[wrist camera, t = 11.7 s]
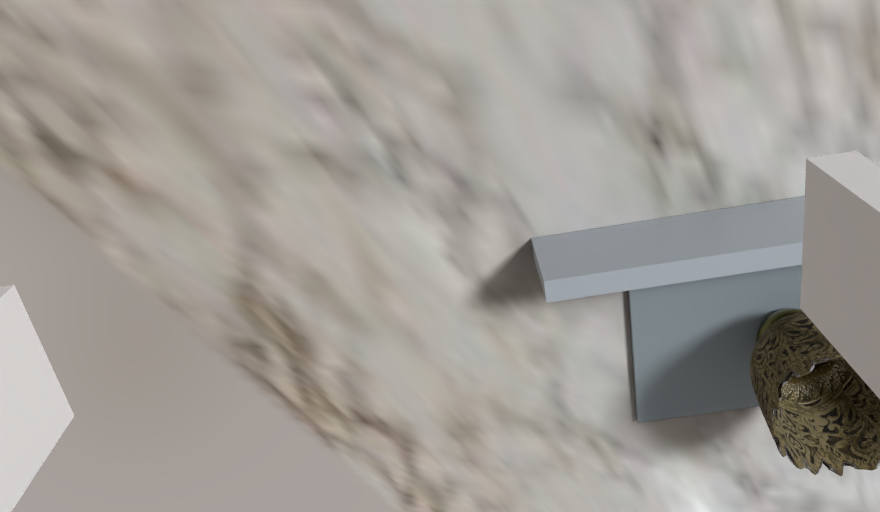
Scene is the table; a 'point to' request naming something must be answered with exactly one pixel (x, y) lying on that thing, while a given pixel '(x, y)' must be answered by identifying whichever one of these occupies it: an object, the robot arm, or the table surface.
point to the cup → (813, 397)
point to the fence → (670, 250)
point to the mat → (702, 340)
